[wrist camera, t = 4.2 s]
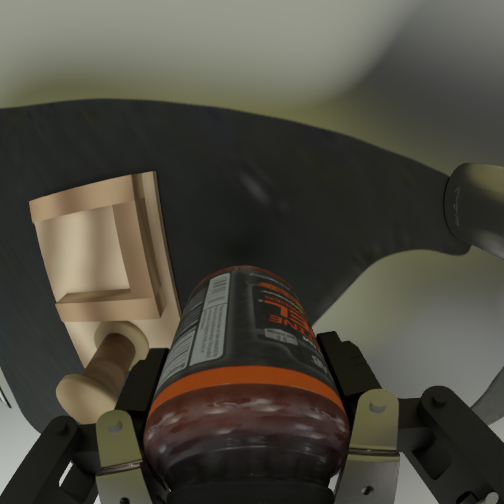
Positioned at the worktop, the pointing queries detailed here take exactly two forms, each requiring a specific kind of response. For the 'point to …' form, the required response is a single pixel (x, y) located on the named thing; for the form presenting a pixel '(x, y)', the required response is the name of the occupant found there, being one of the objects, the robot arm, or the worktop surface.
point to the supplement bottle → (246, 399)
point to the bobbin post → (103, 371)
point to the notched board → (109, 259)
